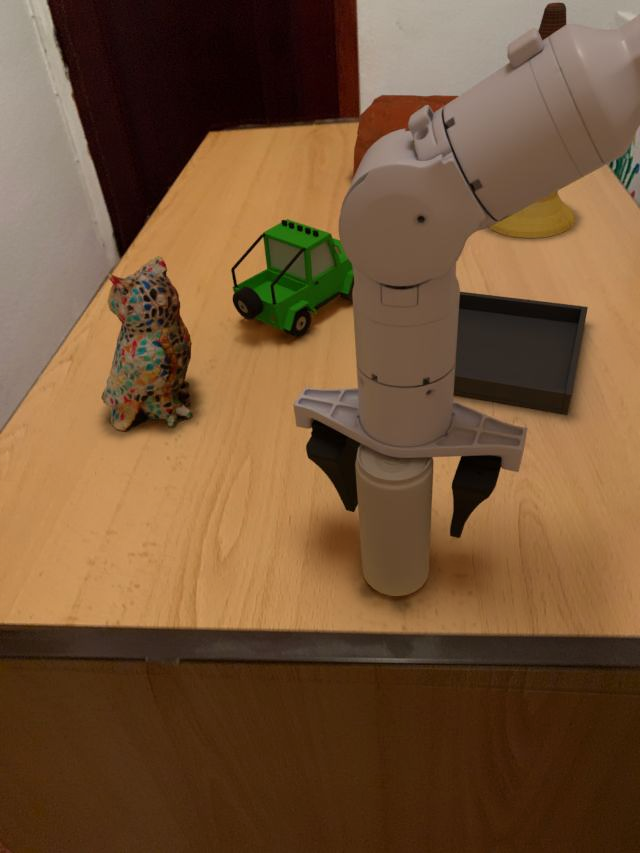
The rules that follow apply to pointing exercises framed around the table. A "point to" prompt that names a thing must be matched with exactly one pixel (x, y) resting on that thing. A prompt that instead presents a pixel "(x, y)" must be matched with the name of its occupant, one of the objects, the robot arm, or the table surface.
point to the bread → (390, 118)
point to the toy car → (294, 277)
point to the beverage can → (394, 520)
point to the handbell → (551, 211)
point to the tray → (518, 351)
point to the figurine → (148, 350)
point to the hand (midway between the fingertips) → (404, 513)
